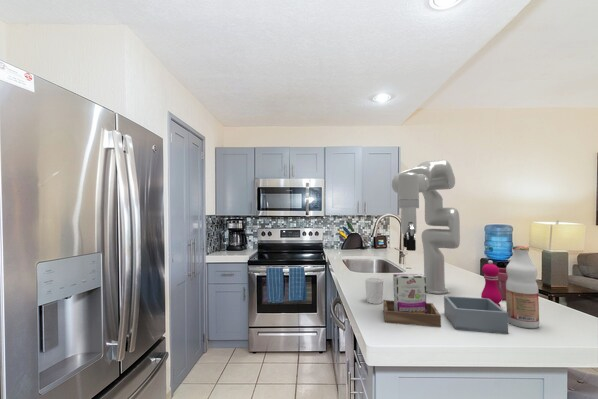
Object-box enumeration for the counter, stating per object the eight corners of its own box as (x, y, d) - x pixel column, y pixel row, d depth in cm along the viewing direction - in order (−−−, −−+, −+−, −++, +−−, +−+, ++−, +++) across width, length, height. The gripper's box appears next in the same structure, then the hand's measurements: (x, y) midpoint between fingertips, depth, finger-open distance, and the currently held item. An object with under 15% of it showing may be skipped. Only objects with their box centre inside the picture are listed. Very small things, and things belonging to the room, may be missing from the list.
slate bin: (444, 313, 117) (444, 295, 117) (489, 316, 113) (489, 298, 114) (455, 329, 102) (455, 309, 102) (508, 333, 98) (507, 312, 98)
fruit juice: (500, 320, 110) (498, 245, 111) (520, 318, 112) (518, 244, 113) (525, 330, 101) (522, 248, 102) (546, 327, 103) (543, 247, 104)
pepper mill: (505, 311, 120) (504, 262, 120) (485, 310, 121) (484, 261, 122) (497, 305, 127) (495, 259, 127) (478, 304, 128) (477, 258, 129)
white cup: (384, 300, 135) (383, 278, 135) (383, 305, 127) (382, 282, 128) (366, 298, 137) (366, 277, 138) (364, 303, 130) (364, 280, 130)
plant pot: (481, 295, 141) (480, 269, 142) (499, 292, 147) (498, 266, 147) (513, 304, 128) (512, 275, 129) (531, 300, 134) (531, 272, 134)
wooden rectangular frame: (383, 309, 122) (383, 300, 122) (432, 313, 117) (432, 303, 117) (385, 322, 108) (385, 311, 108) (441, 327, 104) (440, 315, 104)
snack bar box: (421, 315, 115) (420, 273, 116) (427, 320, 110) (426, 276, 111) (393, 315, 115) (392, 273, 116) (397, 320, 110) (397, 276, 111)
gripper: (396, 205, 124) (397, 245, 123) (400, 204, 107) (401, 251, 106) (415, 205, 122) (416, 246, 121) (422, 204, 105) (423, 252, 104)
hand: (409, 248), depth 114 cm, fingers open, 9 cm apart
